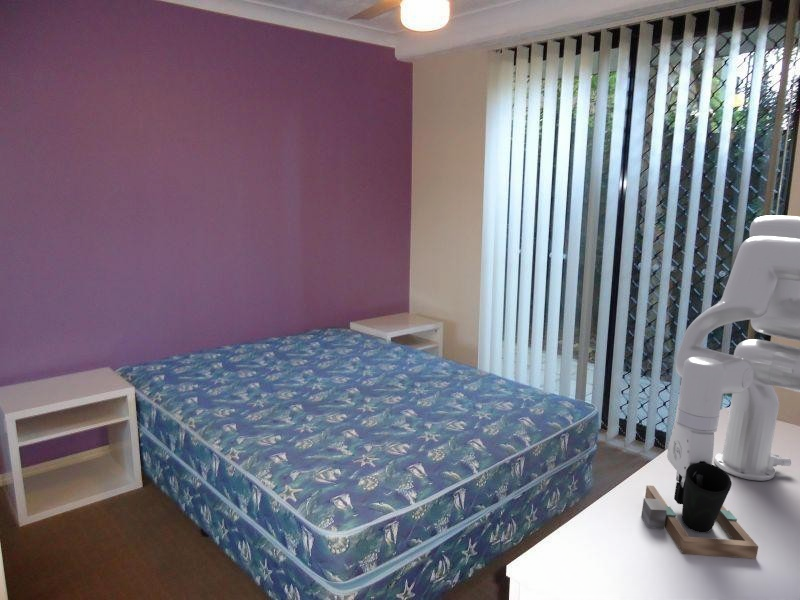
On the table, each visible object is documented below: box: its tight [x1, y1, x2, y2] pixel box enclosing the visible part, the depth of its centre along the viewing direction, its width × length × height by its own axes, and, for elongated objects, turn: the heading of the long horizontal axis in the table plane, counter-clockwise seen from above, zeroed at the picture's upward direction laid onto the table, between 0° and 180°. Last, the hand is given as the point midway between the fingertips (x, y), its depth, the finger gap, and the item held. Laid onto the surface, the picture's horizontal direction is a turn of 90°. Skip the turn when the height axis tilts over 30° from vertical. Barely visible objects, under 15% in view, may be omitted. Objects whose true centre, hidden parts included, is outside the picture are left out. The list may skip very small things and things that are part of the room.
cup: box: [681, 463, 732, 534], centre depth 111 cm, size 8×8×12 cm
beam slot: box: [641, 485, 759, 560], centre depth 114 cm, size 17×20×4 cm
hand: (683, 502), depth 118 cm, fingers closed
